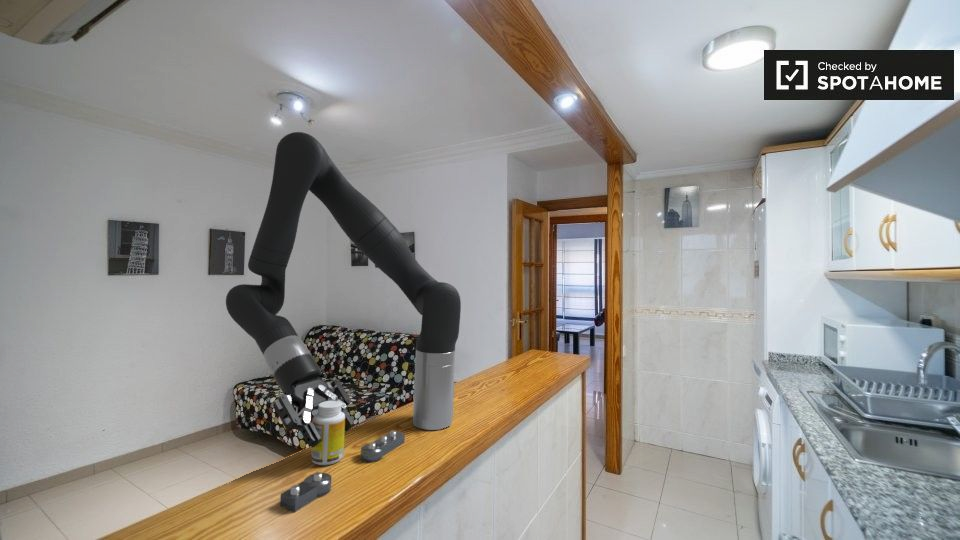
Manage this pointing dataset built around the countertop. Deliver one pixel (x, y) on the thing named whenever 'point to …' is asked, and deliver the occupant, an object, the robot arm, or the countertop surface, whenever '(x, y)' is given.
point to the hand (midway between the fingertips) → (334, 436)
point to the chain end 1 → (306, 491)
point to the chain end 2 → (381, 446)
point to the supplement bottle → (329, 433)
